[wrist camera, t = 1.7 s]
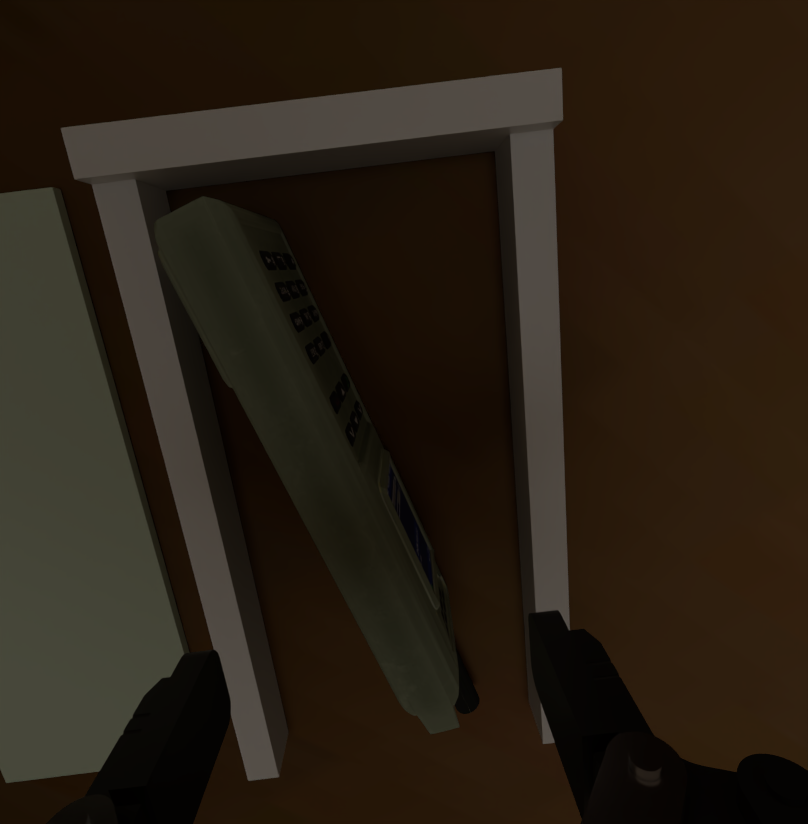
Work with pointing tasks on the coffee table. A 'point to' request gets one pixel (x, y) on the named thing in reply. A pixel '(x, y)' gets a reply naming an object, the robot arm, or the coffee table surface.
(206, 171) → the white u-shaped frame
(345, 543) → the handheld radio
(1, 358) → the green mat
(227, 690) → the robot arm
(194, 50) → the coffee table surface
